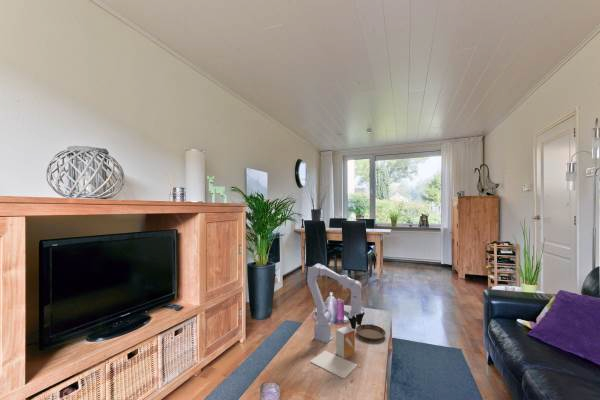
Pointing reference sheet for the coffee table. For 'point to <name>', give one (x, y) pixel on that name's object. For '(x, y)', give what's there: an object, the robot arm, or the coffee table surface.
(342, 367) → the mat
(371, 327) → the plant saucer
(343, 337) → the small box
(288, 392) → the coffee table surface
